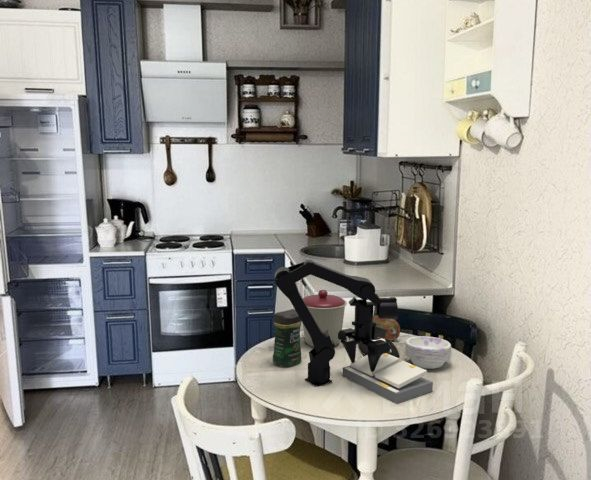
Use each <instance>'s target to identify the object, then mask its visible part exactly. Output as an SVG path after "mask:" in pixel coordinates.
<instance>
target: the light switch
mask: <svg viewBox="0 0 591 480" xmlns="http://www.w3.org/2000/svg"><path fill="white" fill-rule="evenodd" d="M377 340H383V341H386V342H388V343H389V344H390V352H387V354H390V355H392V356H395V357H397V358H399V359H400V357H401V356H400V353H399V351H398V348H397V347H396V345H395V344H394V342H392V341H390V340H389V339H382V338H377V339H372V341H377ZM357 345H358V348H359V349H360V351H361V354H363V356H366V355H367V352H369V351H368V346H367V345H365V344H362V343H360V342H358V343H357Z"/></svg>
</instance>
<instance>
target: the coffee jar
mask: <svg viewBox="0 0 591 480" xmlns="http://www.w3.org/2000/svg"><path fill="white" fill-rule="evenodd" d="M302 324H303V323H302V321H301V319H300V317H299V316H298V314H297V312H296V310H295V309H294V308H292V309H291V310H287V311H283V312H278V313H276V314H275V313H274V315H273V327H274V346H273V355H272V357H273V359H272V362H273V364H275V365H276V366H278V367H283V368H284V367H285V368H288V367H292V366H294V365H295V366H296V365H298V364H300V363H301V362H302V349H301V348H302V346H301V326H302Z"/></svg>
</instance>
